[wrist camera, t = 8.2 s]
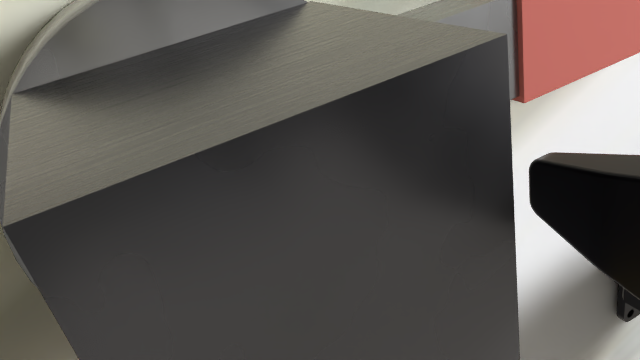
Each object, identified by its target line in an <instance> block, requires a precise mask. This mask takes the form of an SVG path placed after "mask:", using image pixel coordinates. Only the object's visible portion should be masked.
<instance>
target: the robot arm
mask: <svg viewBox="0 0 640 360" xmlns="http://www.w3.org/2000/svg"><path fill="white" fill-rule="evenodd" d="M529 195H530V204H531V207H532V209H533V211H534V212H535V213H536V214H537V215H538V216H539V217H540V218H541V219H542V220H543V221H545V222H546V223H547V224H548V225H549V226H550V227H551V228H552V229H554V230H555V231H556V232H557V233H558V234H559V235H560V236H561V237H563V238H564V239H565V240H566V241H567V242H568V243H569V244H570V245H572V246H573V247H574V248H575V249H576V250H577V251H578V252H579V253H581V254H582V255H583V256H584V257H585V258H586V259H587V260H588V261H590V262H591V263H592V264H593V265H594V266H596V267H597V268H598V269H599V270H600V271H602V272H603V273H604V274H606V275H607V276H608V277H609V278H611V279H612V280H614V281H615V282H616V283H618V284H619V293H618V306H617V316H618V318H620V319H622V320H623V321H625V322H628V321H630V320H632V319H633V318H635V317H636V316H638V315H639V314H640V155H618V154H586V153H548V154H546V155H544V156H542V157H540V158H538V159H536V160H534V161H533V162H532V163H531V165H530V167H529Z"/></svg>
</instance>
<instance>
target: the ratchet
mask: <svg viewBox="0 0 640 360" xmlns="http://www.w3.org/2000/svg"><path fill="white" fill-rule="evenodd" d="M304 3H307V2H306V1H305V0H75V1H73V2H72V3H70V4H69V5H68V6H66V7H65V8H63V9H62V10H61V11H60V12H58V13H57V14H56V15H55V16H54V17H53V18H52V19H51V20H50V21H49V22H48V23H47V24H46V25H45V26H44V27H43V28H42V29H41V30H40V31H39V33H38V34H37V35H36V36H35V38H34V39H33V40H32V42H31V43H30V44H29V45H28V47H27V48H26V49H25V51H24V53H23V55H22V57H21V58H20V60H19V62H18V64H17V66H16V67H15V69H14V71H13V73H12V76H11V79H10V81H9V84H8V87H7V89H6V92H5V95H4V99H3V104H2V109H1V114H0V222H1V225H2V229H3V232H4V235H5V238H6V240H7V242H8V244H9V246H10V248H11V250H12V252H13V254H14V256H15V259H16V260H17V262H18V263H19V265H20V266H21V268H22V269H23V270H24V272H25V273H26V275H27V276H28V278H29V279H30V281H31V282H32V283H33V284H34V285H35V286H36V287H37V285H36V284H35V282H34V280H33V278H32V277H31V275H30V273H29V271H28V270H27V268H26V266H25V265H24V263H23V261H22V259H21V258H20V256H19V254H18V252H17V251H16V249H15V247H14V245H13V244H12V242H11V240H10V239H9V237H8V235H7V233H6V232H5V230H4V228H3V218H4V203H5V188H6V173H7V158H8V143H9V128H10V113H11V98H12V94H13V93H17V92H20V91H23V90H26V89H30V88H33V87H36V86H39V85H42V84H46V83H49V82H52V81H55V80H59V79H62V78H65V77H68V76H71V75H75V74H78V73H81V72H84V71H88V70H91V69H94V68H97V67H101V66H104V65H107V64H110V63H113V62H117V61H120V60H123V59H126V58H130V57H133V56H136V55H139V54H142V53H146V52H149V51H152V50H155V49H159V48H162V47H165V46H168V45H172V44H175V43H178V42H181V41H184V40H188V39H191V38H194V37H197V36H201V35H204V34H207V33H210V32H213V31H217V30H220V29H223V28H226V27H230V26H233V25H236V24H239V23H243V22H246V21H249V20H252V19H255V18H259V17H262V16H265V15H268V14H272V13H275V12H278V11H281V10H284V9H288V8H291V7H294V6H297V5H301V4H304ZM396 16H402V17H408V18H414V19H420V20H426V21H432V22H438V23H444V24H450V25H456V26H462V27H468V28H474V29H480V30H486V31H492V32H498V33H504V34H507V39H508V65H509V92H510V100H511V99H512V100H515V101H518V102H522V103H526V102H528V101H531V100H533V99H535V98H538V97H540V96H542V95H544V94H547V93H549V92H551V91H553V90H556V89H558V88H560V87H562V86H565V85H567V84H569V83H571V82H574V81H576V80H578V79H581V78H583V77H585V76H587V75H590V74H592V73H594V72H596V71H599V70H601V69H603V68H605V67H608V66H610V65H612V64H615V63H617V62H619V61H621V60H624V59H626V58H628V57H630V56H633V55H635V54H637V53H639V52H640V0H441V1H438V2H435V3H432V4H429V5H426V6H423V7H420V8H417V9H414V10H411V11H408V12H405V13H402V14H399V15H396ZM37 288H38V287H37Z"/></svg>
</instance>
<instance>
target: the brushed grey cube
mask: <svg viewBox="0 0 640 360" xmlns="http://www.w3.org/2000/svg"><path fill="white" fill-rule="evenodd" d="M3 228H4V230H5V232H6V233H7V235H8V237H9V239H10V240H11V242H12V244H13V245H14V247H15V249H16V251H17V252H18V254H19V256H20V258H21V259H22V261H23V263H24V265H25V266H26V268H27V270H28V271H29V273H30V275H31V277H32V278H33V280H34V282H35V284H36V285H37V287H38V289H39V291H40V292H41V294H42V296H43V297H44V299H45V301H46V303H47V304H48V306H49V308H50V310H51V311H52V313H53V315H54V316H55V318H56V320H57V322H58V323H59V325H60V327H61V329H62V330H63V332H64V334H65V336H66V337H67V339H68V341H69V342H70V344H71V346H72V348H73V349H74V351H75V353H76V355H77V356H78V358H79V360H520V352H519V326H518V300H517V274H516V248H515V222H514V196H513V170H512V144H511V118H510V92H509V65H508V39H507V34H504V33H498V32H492V31H486V30H480V29H474V28H468V27H462V26H456V25H450V24H444V23H438V22H432V21H426V20H420V19H414V18H408V17H402V16H396V15H390V14H384V13H378V12H372V11H366V10H360V9H354V8H348V7H342V6H336V5H330V4H324V3H318V2H312V1H310V2H307V3H304V4H301V5H297V6H294V7H291V8H288V9H284V10H281V11H278V12H275V13H272V14H268V15H265V16H262V17H259V18H255V19H252V20H249V21H246V22H243V23H239V24H236V25H233V26H230V27H226V28H223V29H220V30H217V31H213V32H210V33H207V34H204V35H201V36H197V37H194V38H191V39H188V40H184V41H181V42H178V43H175V44H172V45H168V46H165V47H162V48H159V49H155V50H152V51H149V52H146V53H142V54H139V55H136V56H133V57H130V58H126V59H123V60H120V61H117V62H113V63H110V64H107V65H104V66H101V67H97V68H94V69H91V70H88V71H84V72H81V73H78V74H75V75H71V76H68V77H65V78H62V79H59V80H55V81H52V82H49V83H46V84H42V85H39V86H36V87H33V88H30V89H26V90H23V91H20V92H17V93H13V94H12V98H11V113H10V128H9V143H8V158H7V173H6V188H5V203H4V218H3Z"/></svg>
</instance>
